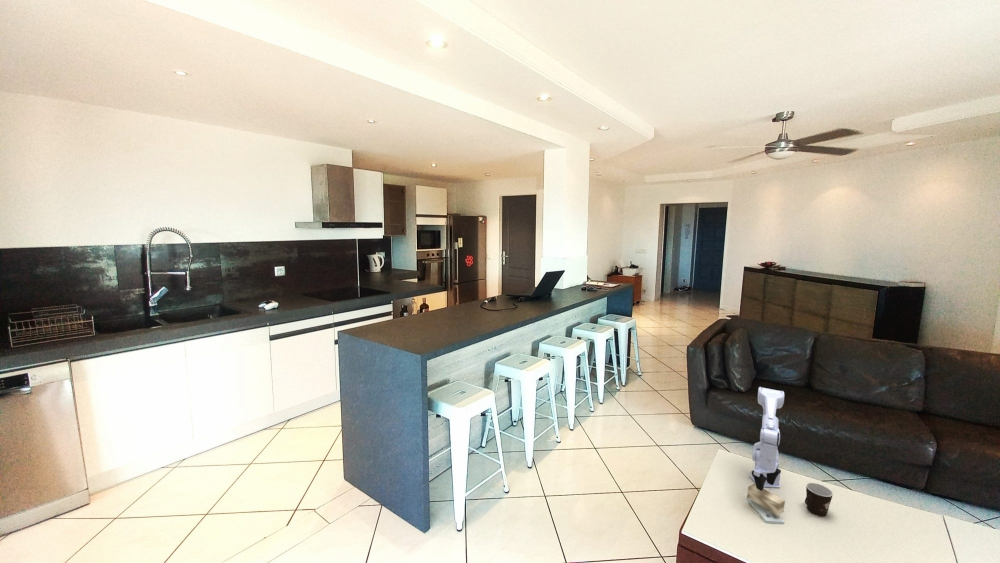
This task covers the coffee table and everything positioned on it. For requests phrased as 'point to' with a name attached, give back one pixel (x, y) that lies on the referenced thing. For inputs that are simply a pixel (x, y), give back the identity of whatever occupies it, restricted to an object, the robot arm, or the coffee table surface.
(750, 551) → the coffee table surface
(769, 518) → the peg plate
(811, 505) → the coffee mug
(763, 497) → the wooden block
